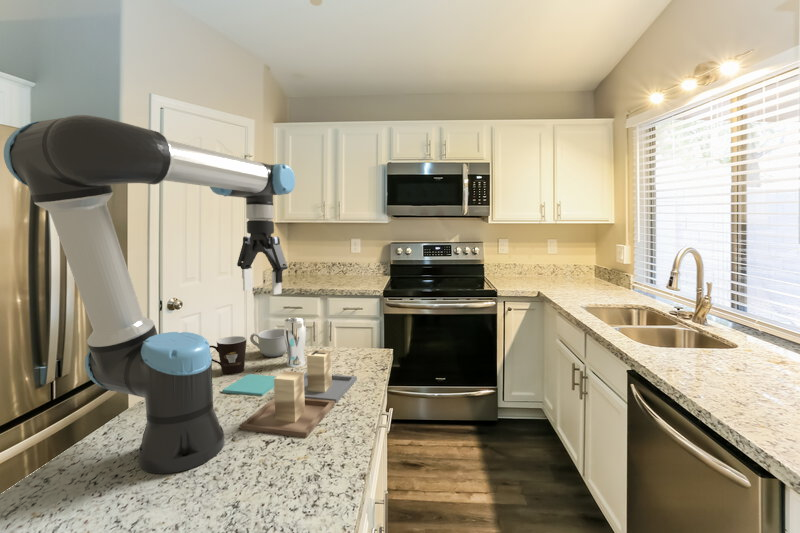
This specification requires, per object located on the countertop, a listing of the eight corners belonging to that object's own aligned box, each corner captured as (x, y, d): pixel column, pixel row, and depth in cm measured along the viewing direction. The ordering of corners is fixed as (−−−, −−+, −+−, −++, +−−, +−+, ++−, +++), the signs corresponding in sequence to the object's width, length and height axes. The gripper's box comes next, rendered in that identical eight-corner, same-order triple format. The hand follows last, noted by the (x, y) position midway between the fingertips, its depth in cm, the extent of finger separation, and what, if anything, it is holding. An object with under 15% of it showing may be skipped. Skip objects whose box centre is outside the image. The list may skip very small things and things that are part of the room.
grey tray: (336, 403, 102) (336, 399, 102) (279, 398, 105) (279, 393, 105) (356, 380, 117) (356, 376, 117) (306, 376, 121) (306, 372, 121)
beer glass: (281, 367, 129) (279, 321, 127) (291, 360, 135) (290, 316, 134) (300, 368, 127) (299, 322, 126) (310, 361, 134) (309, 317, 132)
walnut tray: (306, 438, 85) (306, 432, 85) (240, 430, 89) (239, 424, 89) (334, 405, 101) (334, 401, 101) (277, 399, 104) (277, 395, 104)
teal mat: (262, 396, 106) (262, 393, 106) (222, 392, 109) (222, 389, 109) (284, 379, 118) (284, 377, 118) (248, 376, 121) (248, 373, 121)
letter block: (324, 392, 108) (324, 356, 107) (307, 390, 109) (306, 355, 108) (331, 385, 113) (331, 350, 112) (315, 383, 114) (314, 349, 113)
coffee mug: (252, 366, 129) (251, 336, 128) (239, 376, 121) (238, 344, 120) (218, 365, 130) (217, 335, 129) (203, 375, 122) (201, 343, 121)
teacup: (296, 351, 145) (295, 329, 145) (279, 360, 135) (278, 337, 134) (262, 348, 149) (261, 327, 148) (244, 357, 139) (243, 334, 138)
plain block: (295, 422, 92) (293, 380, 91) (275, 420, 93) (273, 378, 92) (304, 412, 97) (303, 372, 96) (286, 410, 98) (284, 371, 97)
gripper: (299, 219, 113) (300, 294, 115) (245, 221, 127) (247, 287, 128) (278, 218, 107) (279, 297, 108) (223, 220, 121) (225, 290, 122)
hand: (262, 292), depth 118 cm, fingers open, 13 cm apart
